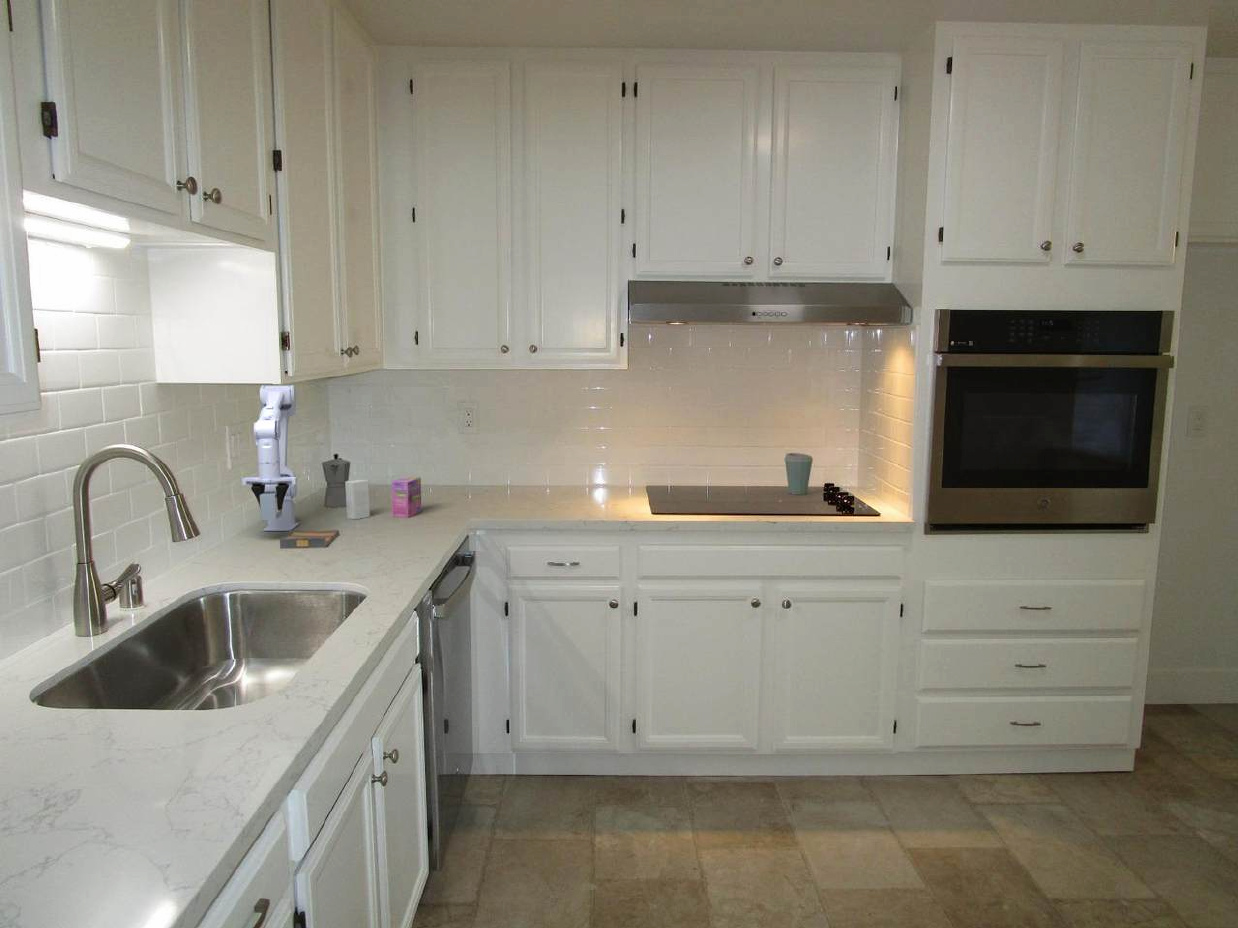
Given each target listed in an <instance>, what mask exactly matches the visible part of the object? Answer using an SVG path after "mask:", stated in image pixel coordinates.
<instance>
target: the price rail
mask: <svg viewBox="0 0 1238 928" xmlns="http://www.w3.org/2000/svg"><path fill="white" fill-rule="evenodd" d="M310 547H326V538H289V539H287V538H280V539H279V548H280V549H311V548H310ZM326 548H327V547H326Z"/></svg>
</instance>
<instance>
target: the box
mask: <svg viewBox="0 0 1238 928" xmlns="http://www.w3.org/2000/svg"><path fill="white" fill-rule="evenodd" d="M391 501H392V502H391V504H392V505H391V506H392V507H391V509H392V517H393V518H405V519H407V518H408V519H409V518H410V517H412V516H415V515H417V514H420V513H422V477H420V476H403V477H401V478H398V479H396V480H392V481H391Z"/></svg>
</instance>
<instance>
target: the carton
mask: <svg viewBox="0 0 1238 928" xmlns="http://www.w3.org/2000/svg"><path fill="white" fill-rule="evenodd" d="M260 509H261V510H260ZM259 510H260V520H261V521H262V520H263V521H264V520H265V521H266V520H276V519H277V518H279V517H280V516H281V515H282V510H278V507H277V493H276V491H266V492H264V493H263V494H261V495H260V506H259Z"/></svg>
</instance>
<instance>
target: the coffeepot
mask: <svg viewBox="0 0 1238 928" xmlns="http://www.w3.org/2000/svg"><path fill="white" fill-rule="evenodd" d="M333 458H334V459H330V460H327V461H323V462H322V463H321V465H322V470H323V474H324V480H325V482H326V488H325V496H324V502H323V503H324V504H323V505H324V508H328V507H330V508H331V509H339V508H338V507H341V508H347V506H346V487H345V482H347V481H349V477H350V470H351V469H350V468H351V462H350V461H348V460H346V459H345V460H344V459H343V458H342V457H341V458H340V457H339V454H338V453H334V454H333ZM330 508H329V509H330Z"/></svg>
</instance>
